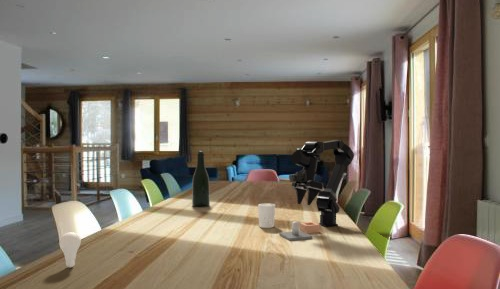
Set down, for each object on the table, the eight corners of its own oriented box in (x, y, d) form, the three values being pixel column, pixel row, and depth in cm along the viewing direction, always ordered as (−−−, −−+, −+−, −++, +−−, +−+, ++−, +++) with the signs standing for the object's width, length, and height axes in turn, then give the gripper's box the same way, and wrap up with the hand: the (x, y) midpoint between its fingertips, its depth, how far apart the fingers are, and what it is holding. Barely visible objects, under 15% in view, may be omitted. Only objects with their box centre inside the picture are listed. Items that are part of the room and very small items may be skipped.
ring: (312, 229, 176) (312, 221, 176) (319, 232, 170) (319, 224, 170) (299, 230, 174) (299, 222, 174) (306, 233, 168) (306, 225, 168)
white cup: (273, 228, 177) (273, 206, 177) (256, 228, 179) (256, 205, 179) (276, 225, 185) (276, 203, 185) (259, 224, 186) (259, 203, 186)
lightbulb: (64, 264, 127) (63, 230, 127) (83, 264, 128) (83, 229, 128) (56, 270, 121) (56, 234, 121) (77, 270, 122) (76, 234, 122)
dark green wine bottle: (213, 205, 241) (212, 150, 241) (202, 207, 233) (201, 151, 232) (199, 203, 247) (199, 150, 247) (188, 206, 238) (188, 151, 238)
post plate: (301, 233, 169) (301, 219, 169) (312, 238, 159) (312, 223, 159) (279, 235, 165) (279, 220, 165) (289, 240, 156) (289, 225, 156)
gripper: (284, 166, 181) (278, 200, 178) (302, 163, 163) (296, 201, 160) (306, 171, 184) (300, 205, 181) (326, 169, 166) (320, 206, 164)
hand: (303, 204), depth 172 cm, fingers open, 9 cm apart
